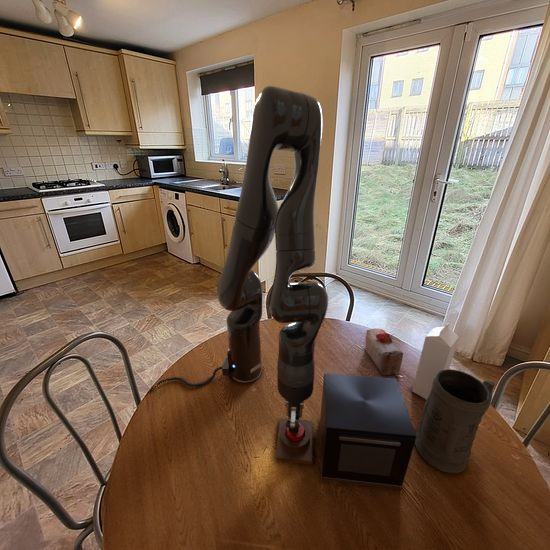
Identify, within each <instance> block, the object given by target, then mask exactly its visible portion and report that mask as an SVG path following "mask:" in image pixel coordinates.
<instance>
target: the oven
mask: <svg viewBox="0 0 550 550" xmlns="http://www.w3.org/2000/svg"><path fill="white" fill-rule="evenodd" d="M319 426H320V427H319V429H320V430H319V431H320V432H319V436H320V437H319V438H320V471H321V472H320V473H321V481H328V482H335V483H336V482H337V483H343V484H353V485H362V486H370V487H379V488H386V489H396V490H402V488H403V485H404V481H405V478H406V474H407V471H408V467H409V464H410V461H411V457H412V454H413V450H414V446H415V440H416V433H417V432H416V431H415V428H414V425H413V421H412V419H411V415H410V413H409V411H408V408H407V405H406V402H405V399H404V396H403V393H402V390H401V387H400V385H399V381H398V379H397V378H391V377H380V376H367V375H354V374H353V375H352V374H341V373H340V374H339V373H328V372H327V373H326V372H324V373H323V381H322V393H321V407H320V420H319Z"/></svg>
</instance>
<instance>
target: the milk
mask: <svg viewBox="0 0 550 550" xmlns="http://www.w3.org/2000/svg"><path fill="white" fill-rule="evenodd" d="M459 340H460V336H459V335H457V334H456V332H454V330H452V328H451V327H450V321H448V322H447V323H446V325H444V326H434V327H433V328H432V330H430V331H429V332H428V333H427V335H425V337H424V341H423V345H422V349H421V353H420V358H419V361H418V364H417V369H416V373H415V377H414V381H413V386H412V388H411V392H412V393H414V394H415V395H418V396H420V397H421V398H423V399H425V401H426V400H427V397H428V396H429V395H430V392H431V388H432V383H433V379H434V378H435V377H436V375H437V374H438V372H440V371H442V370H447V369H448V370H450V367H451V365H452V361H453V358H454V355H455V352H456V350H457V349H456V348H457V345H458V342H459Z"/></svg>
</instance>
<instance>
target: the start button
mask: <svg viewBox="0 0 550 550" xmlns="http://www.w3.org/2000/svg"><path fill="white" fill-rule="evenodd" d="M299 424H300V423H299ZM303 437H304V428H303V426H302V425H301V424H300V427H299V431H298V433H292V432H289V428H288V427H287V438H288V439H289V440H290V441H292V442H299V441H301V440H302V439H303Z"/></svg>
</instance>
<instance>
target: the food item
mask: <svg viewBox="0 0 550 550" xmlns="http://www.w3.org/2000/svg"><path fill="white" fill-rule="evenodd" d="M394 340H395V338H394V337H393V334H391V333H388V332H387V331H386V330H385V329H382V328H370V329H367V330H366V332H365V340H364V343H365V345H364V350H365V352H366V354H367V355H368V356H369V358H370V359H371V360H372V362H373V363H374V365H375V366H376V368H377V369H378V370H379V372H380V373H381V374H382V375H381V376H389V375H396V374H400V371H401V368H402V363H403V357H404V352H403V351H402V349H400V347H399V346H398V345H397V343H395V341H394Z"/></svg>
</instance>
